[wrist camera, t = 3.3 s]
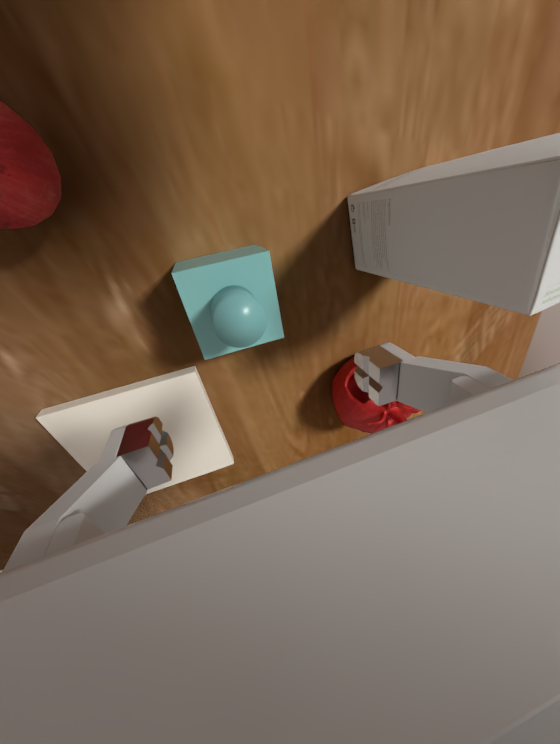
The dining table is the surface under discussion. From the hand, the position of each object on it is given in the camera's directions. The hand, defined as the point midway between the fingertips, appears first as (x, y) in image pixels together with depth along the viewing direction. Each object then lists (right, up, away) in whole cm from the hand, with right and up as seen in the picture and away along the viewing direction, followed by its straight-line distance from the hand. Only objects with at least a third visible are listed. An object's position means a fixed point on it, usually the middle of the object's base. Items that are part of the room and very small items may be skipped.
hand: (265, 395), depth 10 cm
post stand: (-13, -6, +18) cm, 23 cm away
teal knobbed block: (-4, +8, +12) cm, 15 cm away
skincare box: (+11, +15, +13) cm, 23 cm away
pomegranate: (+11, 0, +22) cm, 24 cm away
